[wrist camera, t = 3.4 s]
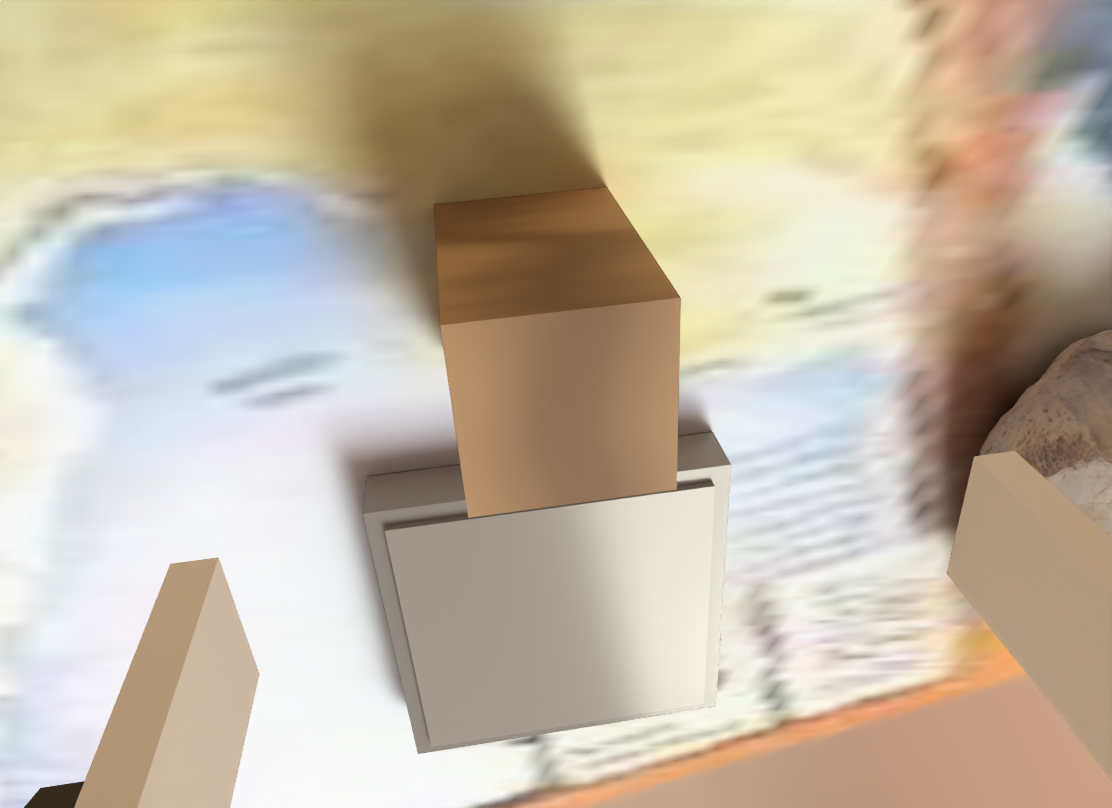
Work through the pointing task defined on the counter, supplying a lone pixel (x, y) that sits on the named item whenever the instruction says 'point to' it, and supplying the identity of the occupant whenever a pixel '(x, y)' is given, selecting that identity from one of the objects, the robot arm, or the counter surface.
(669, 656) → the board
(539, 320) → the block
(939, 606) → the counter surface
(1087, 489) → the stone
